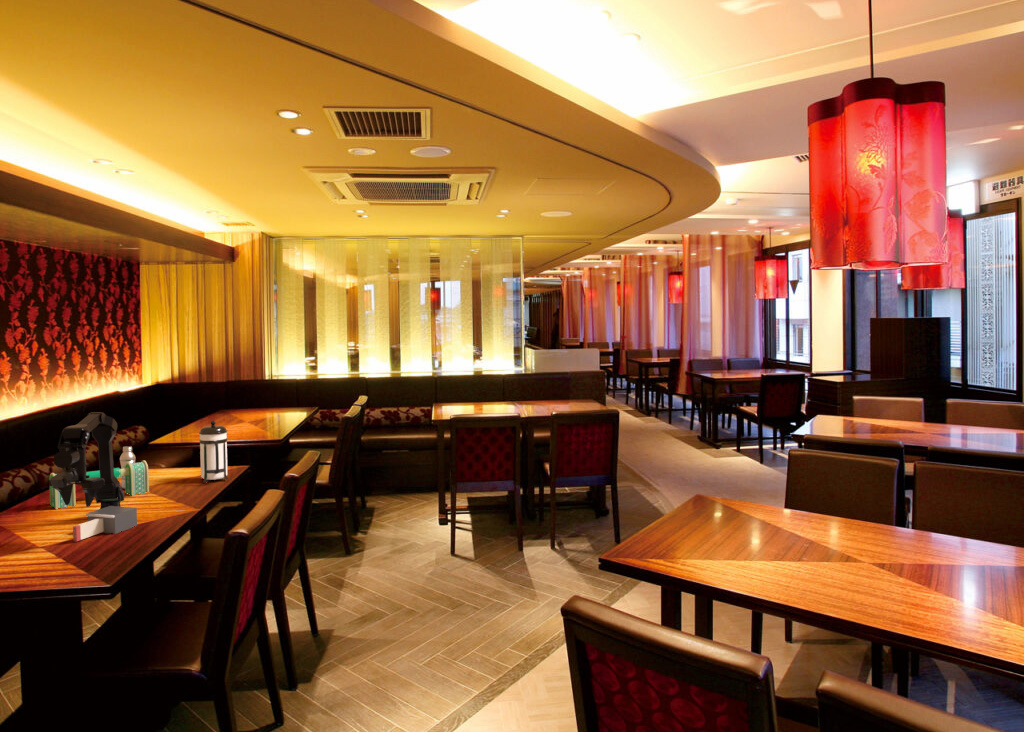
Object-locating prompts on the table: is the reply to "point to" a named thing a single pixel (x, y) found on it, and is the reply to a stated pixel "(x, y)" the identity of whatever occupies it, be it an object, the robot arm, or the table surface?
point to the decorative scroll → (133, 475)
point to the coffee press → (213, 452)
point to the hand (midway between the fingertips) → (77, 505)
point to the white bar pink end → (88, 529)
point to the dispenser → (115, 518)
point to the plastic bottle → (126, 461)
